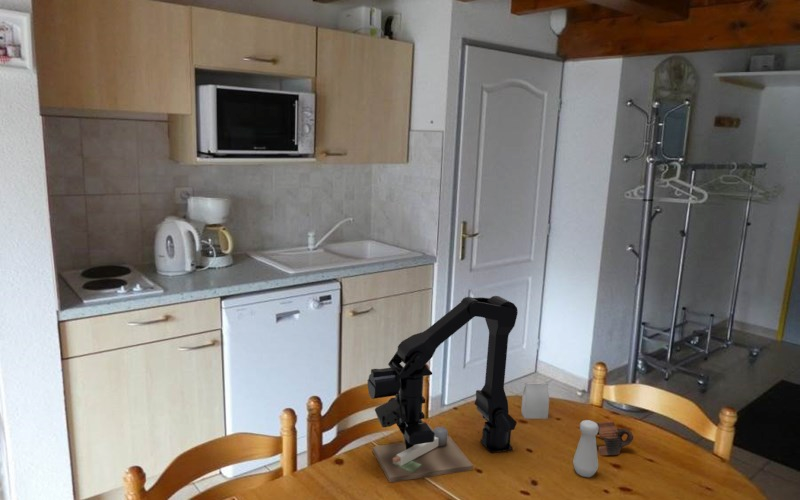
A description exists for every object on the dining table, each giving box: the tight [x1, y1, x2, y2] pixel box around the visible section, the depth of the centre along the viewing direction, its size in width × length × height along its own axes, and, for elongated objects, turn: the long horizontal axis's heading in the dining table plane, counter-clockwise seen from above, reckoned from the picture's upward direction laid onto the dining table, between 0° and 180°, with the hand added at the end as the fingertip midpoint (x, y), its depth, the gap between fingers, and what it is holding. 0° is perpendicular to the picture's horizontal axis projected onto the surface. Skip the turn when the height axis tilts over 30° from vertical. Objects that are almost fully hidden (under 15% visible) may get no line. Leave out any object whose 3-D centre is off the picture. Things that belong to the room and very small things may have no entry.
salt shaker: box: [572, 419, 599, 478], centre depth 140 cm, size 6×6×13 cm
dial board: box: [372, 436, 474, 483], centre depth 144 cm, size 21×14×1 cm
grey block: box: [520, 382, 550, 420], centre depth 169 cm, size 4×7×10 cm, turn 95°
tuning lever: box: [393, 426, 448, 466], centre depth 144 cm, size 19×4×4 cm, turn 136°
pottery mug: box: [596, 421, 634, 457], centre depth 153 cm, size 12×9×8 cm
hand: (408, 450), depth 144 cm, fingers closed
